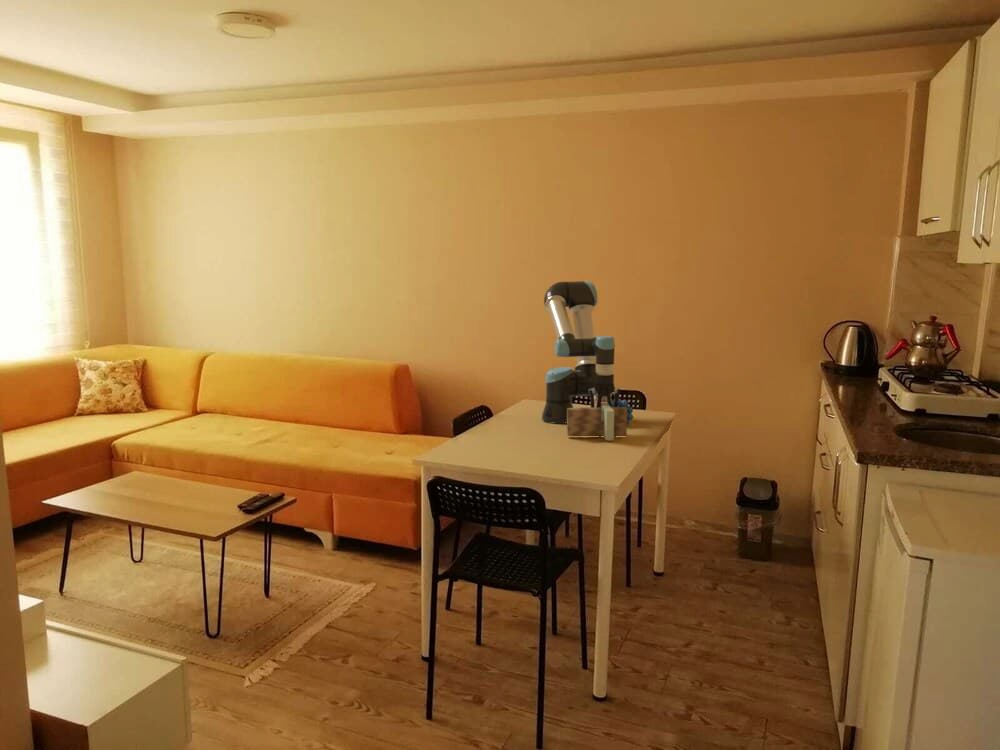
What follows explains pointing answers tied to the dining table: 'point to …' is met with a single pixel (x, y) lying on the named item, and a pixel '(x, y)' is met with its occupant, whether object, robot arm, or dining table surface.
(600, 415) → the slotted board
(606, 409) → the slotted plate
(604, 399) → the teacup with lid
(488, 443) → the dining table surface
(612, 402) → the grapes
